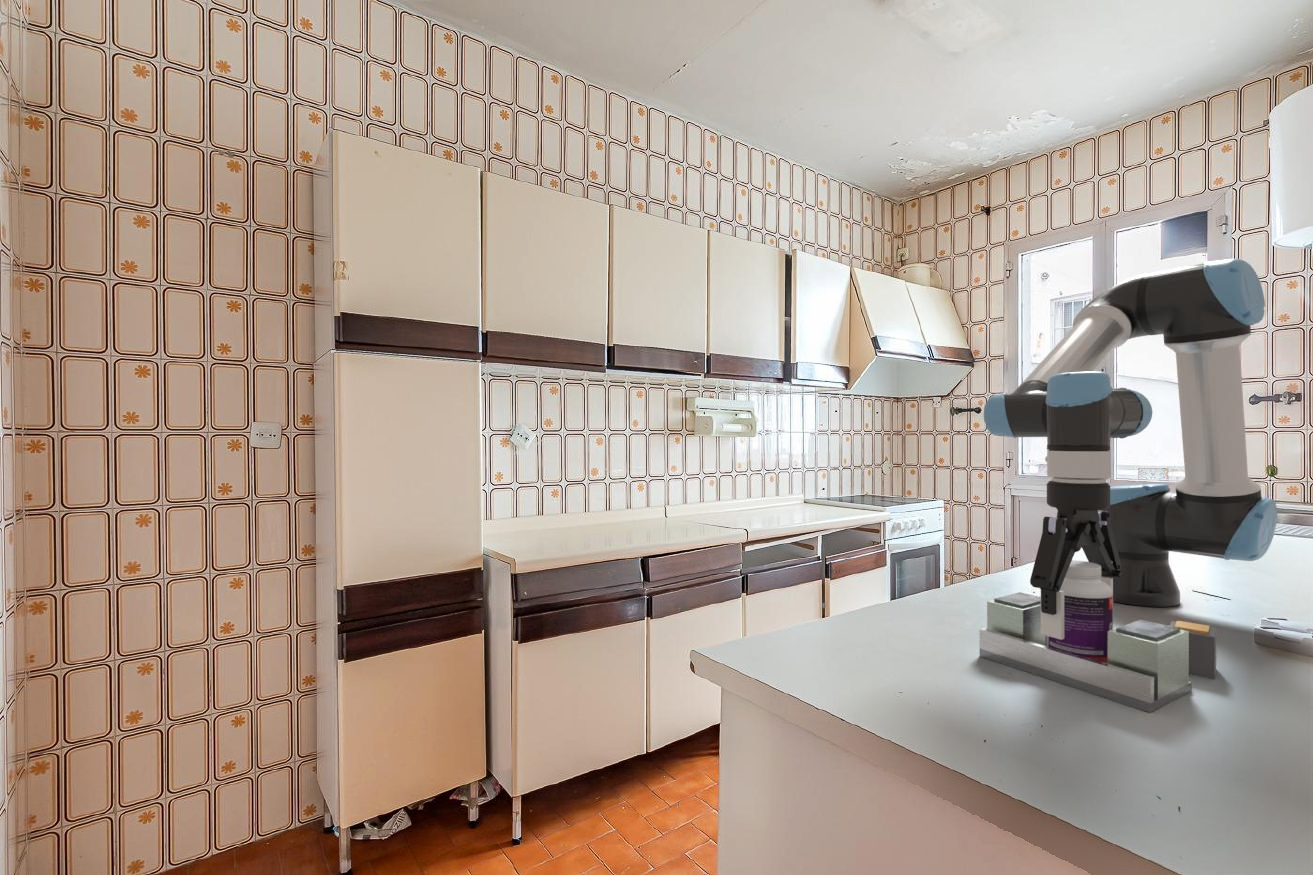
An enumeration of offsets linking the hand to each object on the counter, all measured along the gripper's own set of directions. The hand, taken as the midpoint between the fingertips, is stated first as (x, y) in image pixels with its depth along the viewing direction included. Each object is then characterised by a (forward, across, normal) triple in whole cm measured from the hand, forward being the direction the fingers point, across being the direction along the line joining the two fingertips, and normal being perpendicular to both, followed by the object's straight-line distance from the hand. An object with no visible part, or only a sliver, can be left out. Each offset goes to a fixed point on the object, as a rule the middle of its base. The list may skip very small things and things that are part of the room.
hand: (1077, 628), depth 88 cm
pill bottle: (+5, 0, 0) cm, 5 cm away
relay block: (+6, -15, +8) cm, 18 cm away
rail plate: (+6, 0, 0) cm, 6 cm away
